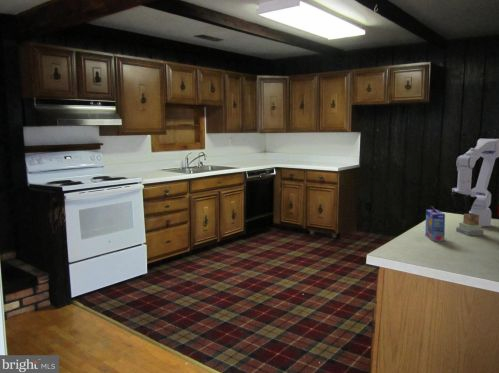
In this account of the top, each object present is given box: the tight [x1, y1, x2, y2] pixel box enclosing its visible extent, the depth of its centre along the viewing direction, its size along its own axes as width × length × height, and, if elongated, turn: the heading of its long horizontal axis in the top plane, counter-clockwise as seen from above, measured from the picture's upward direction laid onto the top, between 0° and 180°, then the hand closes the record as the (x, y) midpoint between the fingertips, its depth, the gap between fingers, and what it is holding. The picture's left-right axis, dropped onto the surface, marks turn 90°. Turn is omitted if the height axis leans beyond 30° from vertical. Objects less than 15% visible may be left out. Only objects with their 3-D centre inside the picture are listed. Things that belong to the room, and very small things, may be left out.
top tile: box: [458, 221, 483, 231], centre depth 191 cm, size 6×6×2 cm
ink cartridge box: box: [425, 205, 446, 242], centre depth 182 cm, size 10×6×14 cm, turn 174°
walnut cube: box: [462, 212, 479, 225], centre depth 190 cm, size 4×4×4 cm
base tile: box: [455, 226, 485, 237], centre depth 191 cm, size 8×8×2 cm
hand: (462, 209), depth 194 cm, fingers open, 7 cm apart
